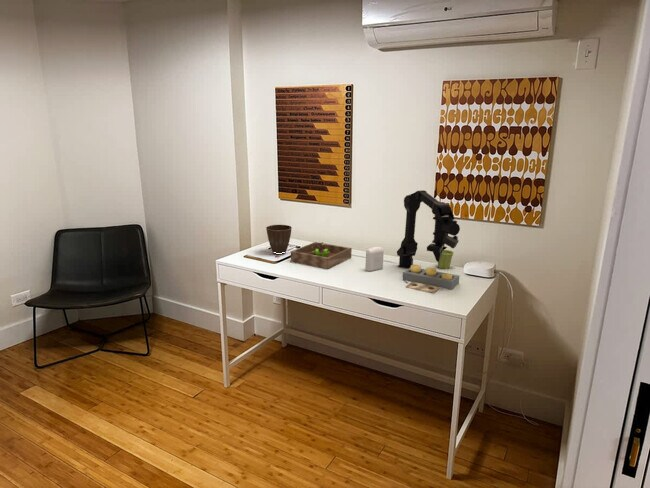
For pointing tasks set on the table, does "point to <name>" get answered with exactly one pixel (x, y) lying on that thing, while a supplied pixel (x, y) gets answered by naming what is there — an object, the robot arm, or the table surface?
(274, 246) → the plant pot
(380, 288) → the table surface
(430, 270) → the button
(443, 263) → the plant pot
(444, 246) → the robot arm
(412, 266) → the button
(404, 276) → the board
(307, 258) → the brown wooden tray
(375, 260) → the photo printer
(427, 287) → the card
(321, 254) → the plant
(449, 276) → the button
